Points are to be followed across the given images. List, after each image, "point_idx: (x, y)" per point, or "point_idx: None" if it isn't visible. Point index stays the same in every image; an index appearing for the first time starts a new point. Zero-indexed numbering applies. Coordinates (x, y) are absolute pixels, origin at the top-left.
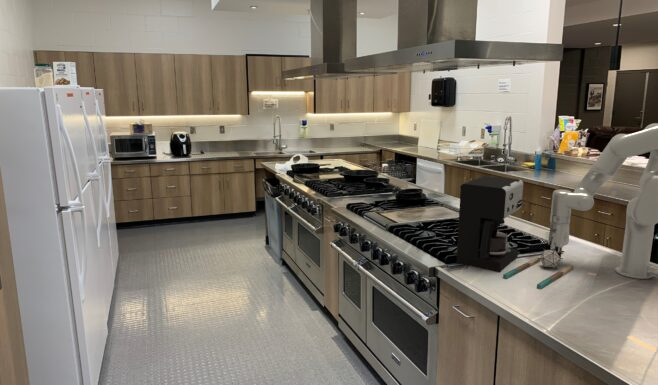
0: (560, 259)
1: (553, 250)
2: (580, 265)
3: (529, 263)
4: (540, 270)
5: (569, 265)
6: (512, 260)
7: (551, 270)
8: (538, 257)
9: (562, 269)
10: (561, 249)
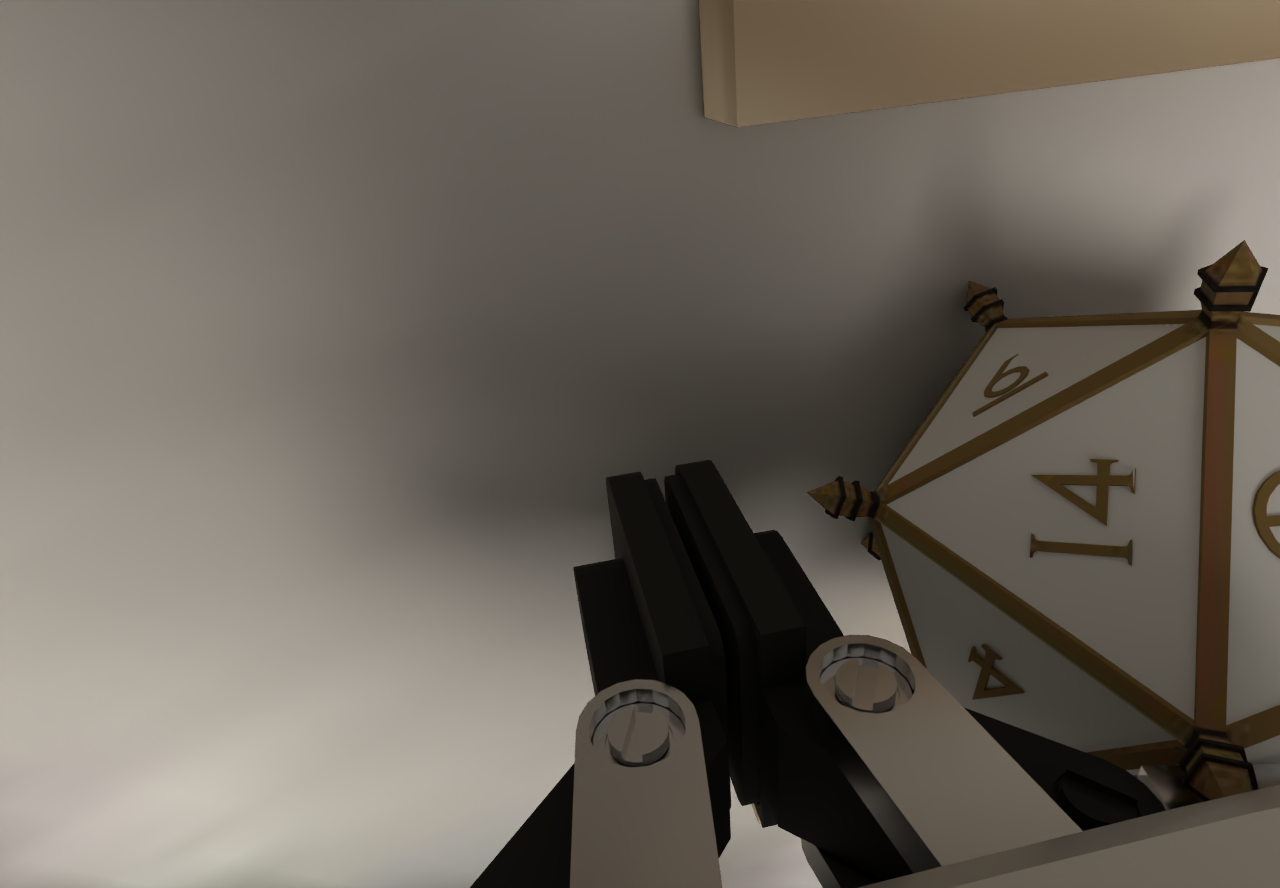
0: (1207, 313)
1: (1277, 755)
2: (88, 23)
3: None
4: None
5: (781, 100)
6: None
7: (1126, 309)
8: None
9: (1273, 45)
10: (653, 775)
